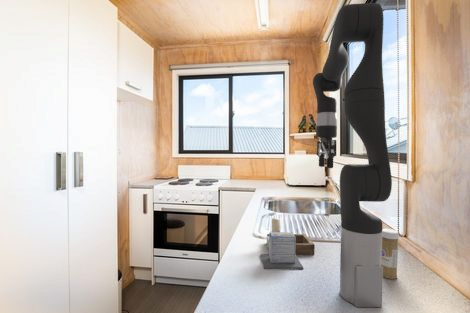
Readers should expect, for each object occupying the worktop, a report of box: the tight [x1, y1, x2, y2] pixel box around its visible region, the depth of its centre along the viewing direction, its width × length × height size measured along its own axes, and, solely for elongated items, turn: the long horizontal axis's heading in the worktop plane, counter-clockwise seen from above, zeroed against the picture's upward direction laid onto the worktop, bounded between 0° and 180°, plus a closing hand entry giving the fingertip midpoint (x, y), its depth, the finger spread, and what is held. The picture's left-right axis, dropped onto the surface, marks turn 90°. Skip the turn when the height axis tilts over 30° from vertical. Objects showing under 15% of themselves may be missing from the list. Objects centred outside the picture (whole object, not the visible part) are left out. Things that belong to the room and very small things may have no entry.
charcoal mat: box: [260, 253, 304, 270], centre depth 85 cm, size 10×12×1 cm
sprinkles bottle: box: [381, 228, 400, 280], centre depth 76 cm, size 5×5×14 cm
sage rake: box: [266, 217, 281, 250], centre depth 97 cm, size 7×4×11 cm, turn 1°
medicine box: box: [268, 231, 296, 263], centre depth 85 cm, size 8×4×9 cm, turn 91°
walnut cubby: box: [266, 233, 316, 256], centre depth 97 cm, size 11×15×4 cm
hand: (325, 167), depth 101 cm, fingers open, 8 cm apart
